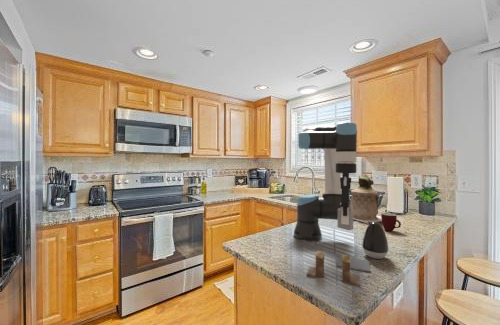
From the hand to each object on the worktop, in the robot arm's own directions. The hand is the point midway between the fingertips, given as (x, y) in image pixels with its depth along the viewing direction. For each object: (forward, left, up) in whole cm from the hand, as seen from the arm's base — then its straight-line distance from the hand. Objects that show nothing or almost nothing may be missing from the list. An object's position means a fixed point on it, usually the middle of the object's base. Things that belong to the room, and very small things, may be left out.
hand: (345, 222), depth 92 cm
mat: (+3, +5, -18) cm, 19 cm away
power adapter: (0, 0, -2) cm, 2 cm away
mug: (+25, +66, -18) cm, 73 cm away
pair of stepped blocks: (-4, -9, -18) cm, 21 cm away
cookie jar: (+12, +95, -19) cm, 98 cm away
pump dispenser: (+12, +18, -18) cm, 28 cm away
